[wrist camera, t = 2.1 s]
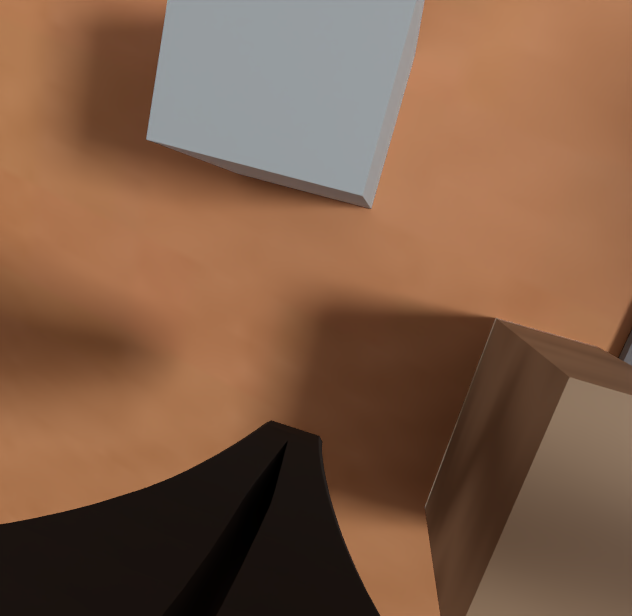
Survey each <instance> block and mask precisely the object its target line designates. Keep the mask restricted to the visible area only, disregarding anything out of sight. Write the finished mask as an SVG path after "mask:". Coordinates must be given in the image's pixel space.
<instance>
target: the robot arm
mask: <svg viewBox="0 0 632 616" xmlns="http://www.w3.org/2000/svg"><path fill="white" fill-rule="evenodd" d="M0 616H380V614H379V612H378V611H377V609H376V607H375V605H374V604H373V602H372V600H371V598H370V596H369V595H368V593H367V591H366V589H365V587H364V584H363V582H362V580H361V578H360V576H359V574H358V572H357V570H356V568H355V565H354V563H353V561H352V558H351V556H350V554H349V551H348V549H347V546H346V544H345V541H344V539H343V536H342V533H341V530H340V528H339V525H338V521H337V518H336V515H335V512H334V509H333V505H332V502H331V498H330V494H329V490H328V486H327V481H326V477H325V472H324V465H323V458H322V440H321V438H320V436H318V435H315V434H311V433H308V432H305V431H302V430H299V429H296V428H293V427H290V426H287V425H284V424H281V423H278V422H275V421H272V420H271V421H269V422H267V423H265V424H264V425H262V426H261V427H260V428H258V429H257V430H255V431H254V432H252V433H251V434H249V435H248V436H246V437H245V438H243V439H242V440H240V441H239V442H237V443H236V444H234V445H232V446H231V447H229V448H227V449H226V450H224V451H222V452H221V453H219V454H217V455H215V456H214V457H212V458H210V459H208V460H206V461H204V462H202V463H200V464H198V465H197V466H195V467H193V468H191V469H189V470H187V471H185V472H183V473H180V474H178V475H176V476H174V477H172V478H169V479H167V480H165V481H162V482H159V483H157V484H154V485H152V486H149V487H147V488H144V489H141V490H138V491H135V492H132V493H128V494H125V495H122V496H119V497H116V498H112V499H109V500H106V501H103V502H100V503H96V504H93V505H89V506H85V507H81V508H77V509H73V510H69V511H65V512H61V513H56V514H52V515H47V516H42V517H38V518H33V519H28V520H23V521H17V522H12V523H6V524H0Z"/></svg>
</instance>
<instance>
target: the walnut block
mask: <svg viewBox="0 0 632 616" xmlns="http://www.w3.org/2000/svg"><path fill="white" fill-rule="evenodd" d="M425 513H426V520H427V527H428V534H429V540H430V547H431V554H432V561H433V568H434V575H435V581H436V588H437V595H438V602H439V609H440V616H632V366H631V365H630V364H628V363H626V362H624V361H622V360H621V359H619V358H617V357H615V356H613V355H612V354H610V353H608V352H606V351H604V350H603V349H601V348H599V347H597V346H593V345H590V344H586V343H583V342H579V341H576V340H572V339H569V338H565V337H562V336H558V335H555V334H551V333H547V332H544V331H540V330H537V329H533V328H530V327H526V326H523V325H519V324H516V323H512V322H509V321H505V320H502V319H498V318H495V321H494V323H493V326H492V329H491V331H490V334H489V337H488V339H487V342H486V345H485V347H484V350H483V353H482V355H481V358H480V361H479V363H478V366H477V369H476V371H475V374H474V377H473V379H472V382H471V385H470V387H469V390H468V393H467V395H466V398H465V401H464V403H463V406H462V409H461V411H460V414H459V417H458V419H457V422H456V425H455V427H454V430H453V432H452V435H451V438H450V440H449V443H448V446H447V448H446V451H445V454H444V456H443V459H442V462H441V464H440V467H439V470H438V472H437V475H436V478H435V480H434V483H433V486H432V488H431V491H430V494H429V496H428V499H427V502H426V504H425Z"/></svg>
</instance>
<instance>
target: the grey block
mask: <svg viewBox="0 0 632 616" xmlns="http://www.w3.org/2000/svg"><path fill="white" fill-rule="evenodd" d="M424 1H425V0H168V1H167V8H166V14H165V21H164V27H163V34H162V40H161V46H160V53H159V59H158V66H157V72H156V79H155V85H154V92H153V98H152V105H151V111H150V118H149V124H148V131H147V137H146V140H149V141H152V142H154V143H157V144H160V145H162V146H165V147H168V148H170V149H173V150H176V151H179V152H181V153H184V154H187V155H189V156H192V157H195V158H197V159H200V160H203V161H205V162H208V163H211V164H213V165H216V166H219V167H221V168H224V169H227V170H229V171H232V172H235V173H237V174H241V175H245V176H248V177H252V178H256V179H260V180H264V181H267V182H271V183H275V184H279V185H283V186H286V187H290V188H294V189H298V190H301V191H305V192H309V193H313V194H317V195H320V196H324V197H328V198H332V199H336V200H339V201H343V202H347V203H351V204H354V205H358V206H362V207H366V208H370V209H371V208H372V204H373V201H374V197H375V194H376V190H377V187H378V183H379V180H380V176H381V173H382V169H383V166H384V162H385V159H386V155H387V152H388V148H389V145H390V141H391V138H392V134H393V131H394V127H395V124H396V120H397V116H398V113H399V109H400V106H401V102H402V99H403V95H404V92H405V88H406V85H407V81H408V78H409V74H410V71H411V67H412V64H413V60H414V57H415V52H416V46H417V40H418V35H419V29H420V23H421V18H422V12H423V6H424Z"/></svg>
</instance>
